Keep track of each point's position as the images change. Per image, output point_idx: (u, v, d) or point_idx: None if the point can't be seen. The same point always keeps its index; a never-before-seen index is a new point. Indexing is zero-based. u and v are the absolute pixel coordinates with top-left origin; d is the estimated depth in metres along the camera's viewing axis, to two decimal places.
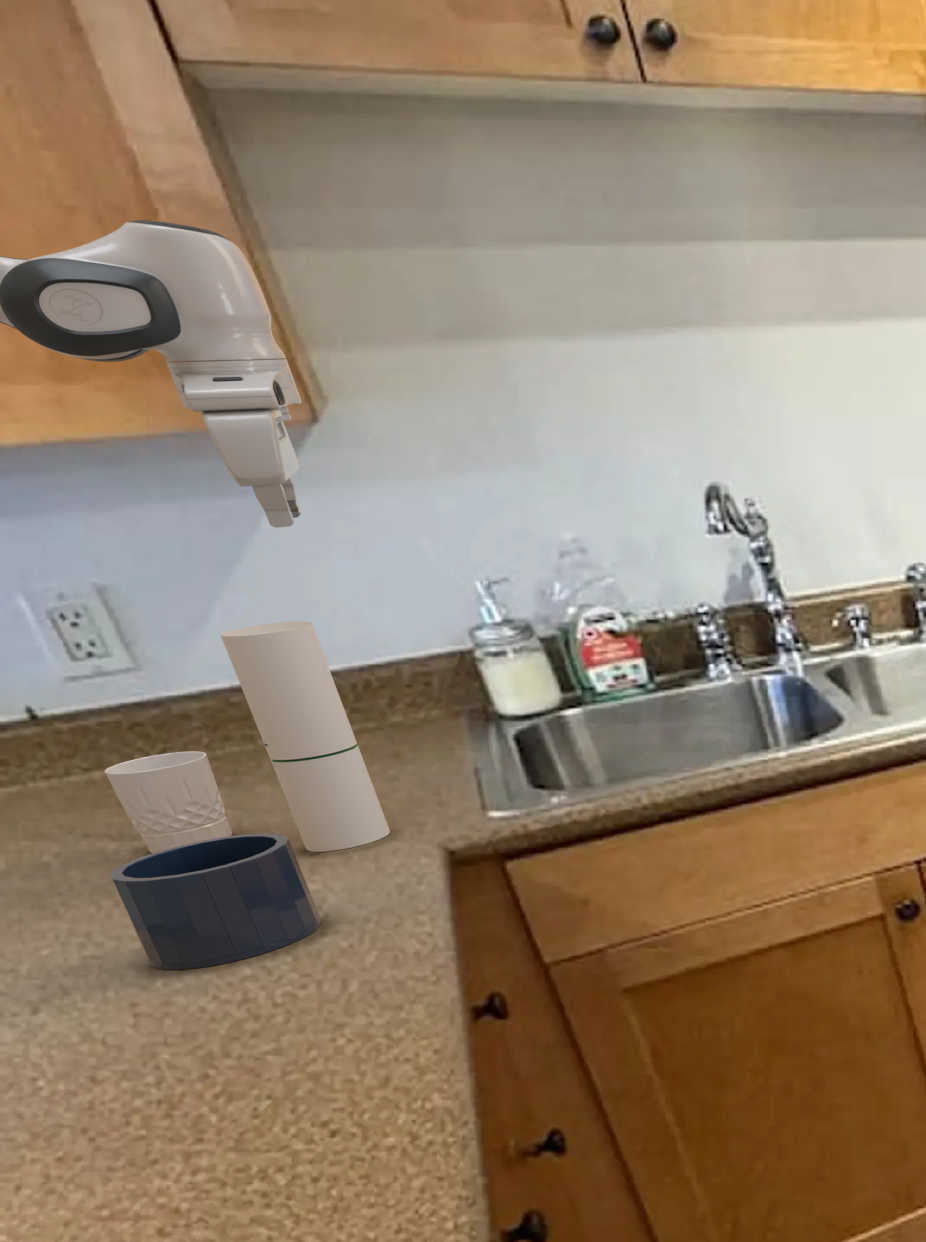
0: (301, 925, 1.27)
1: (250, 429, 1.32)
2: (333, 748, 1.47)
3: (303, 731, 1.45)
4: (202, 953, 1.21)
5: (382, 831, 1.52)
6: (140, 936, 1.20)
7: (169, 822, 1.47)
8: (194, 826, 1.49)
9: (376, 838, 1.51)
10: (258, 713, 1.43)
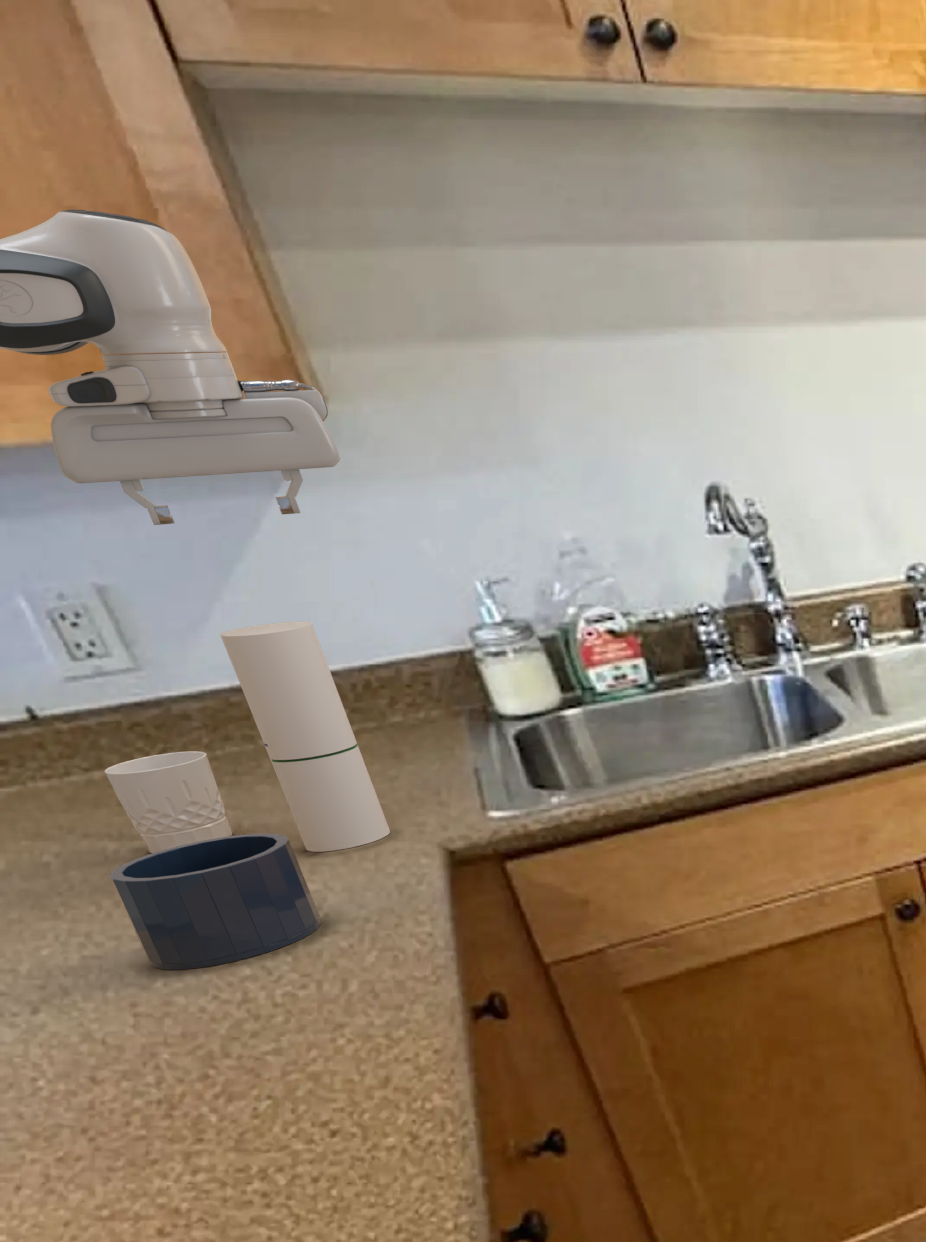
0: (301, 925, 1.27)
1: None
2: (333, 748, 1.47)
3: (303, 731, 1.45)
4: (202, 953, 1.21)
5: (382, 831, 1.52)
6: (140, 936, 1.20)
7: (169, 822, 1.47)
8: (194, 826, 1.49)
9: (376, 838, 1.51)
10: (258, 713, 1.43)
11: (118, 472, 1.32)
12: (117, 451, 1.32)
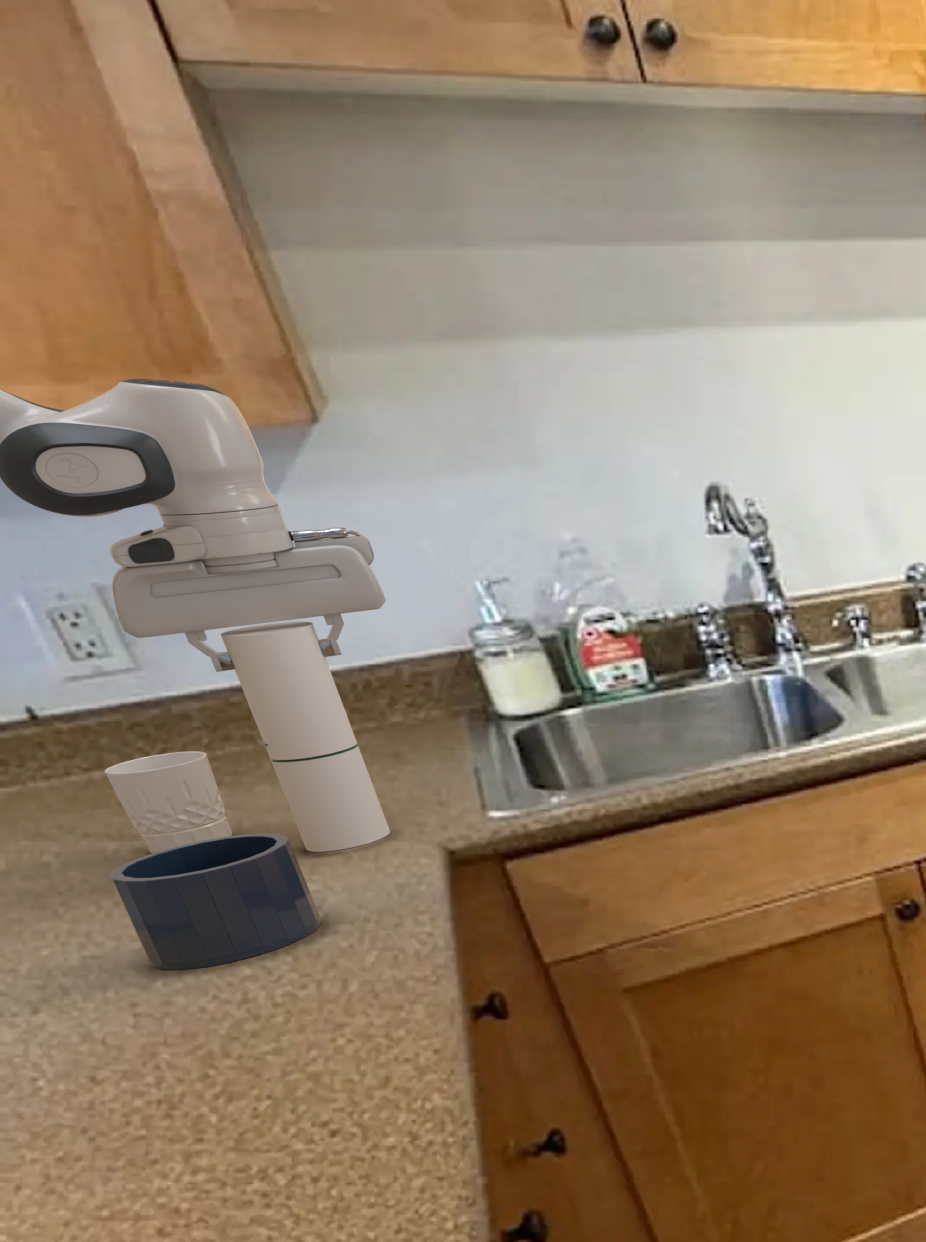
0: (301, 925, 1.27)
1: None
2: (333, 748, 1.47)
3: (303, 731, 1.45)
4: (202, 953, 1.21)
5: (382, 831, 1.52)
6: (140, 936, 1.20)
7: (169, 822, 1.47)
8: (194, 826, 1.49)
9: (376, 838, 1.51)
10: (258, 713, 1.43)
11: (175, 625, 1.37)
12: (175, 606, 1.37)
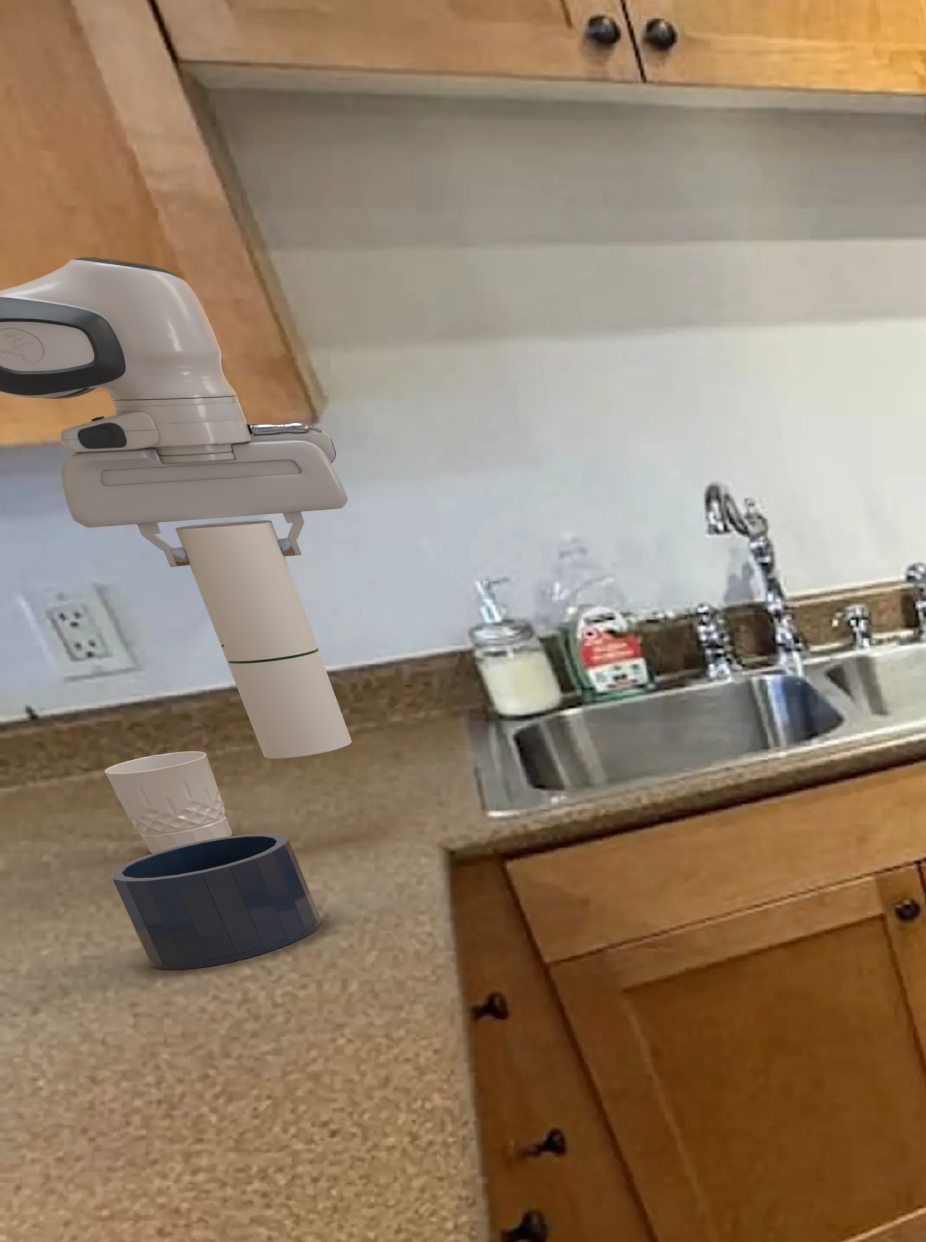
0: (301, 925, 1.27)
1: None
2: (292, 651, 1.42)
3: (261, 632, 1.40)
4: (202, 953, 1.21)
5: (343, 740, 1.48)
6: (140, 936, 1.20)
7: (169, 822, 1.47)
8: (194, 826, 1.49)
9: (337, 747, 1.47)
10: (214, 611, 1.39)
11: (127, 516, 1.33)
12: (126, 496, 1.32)
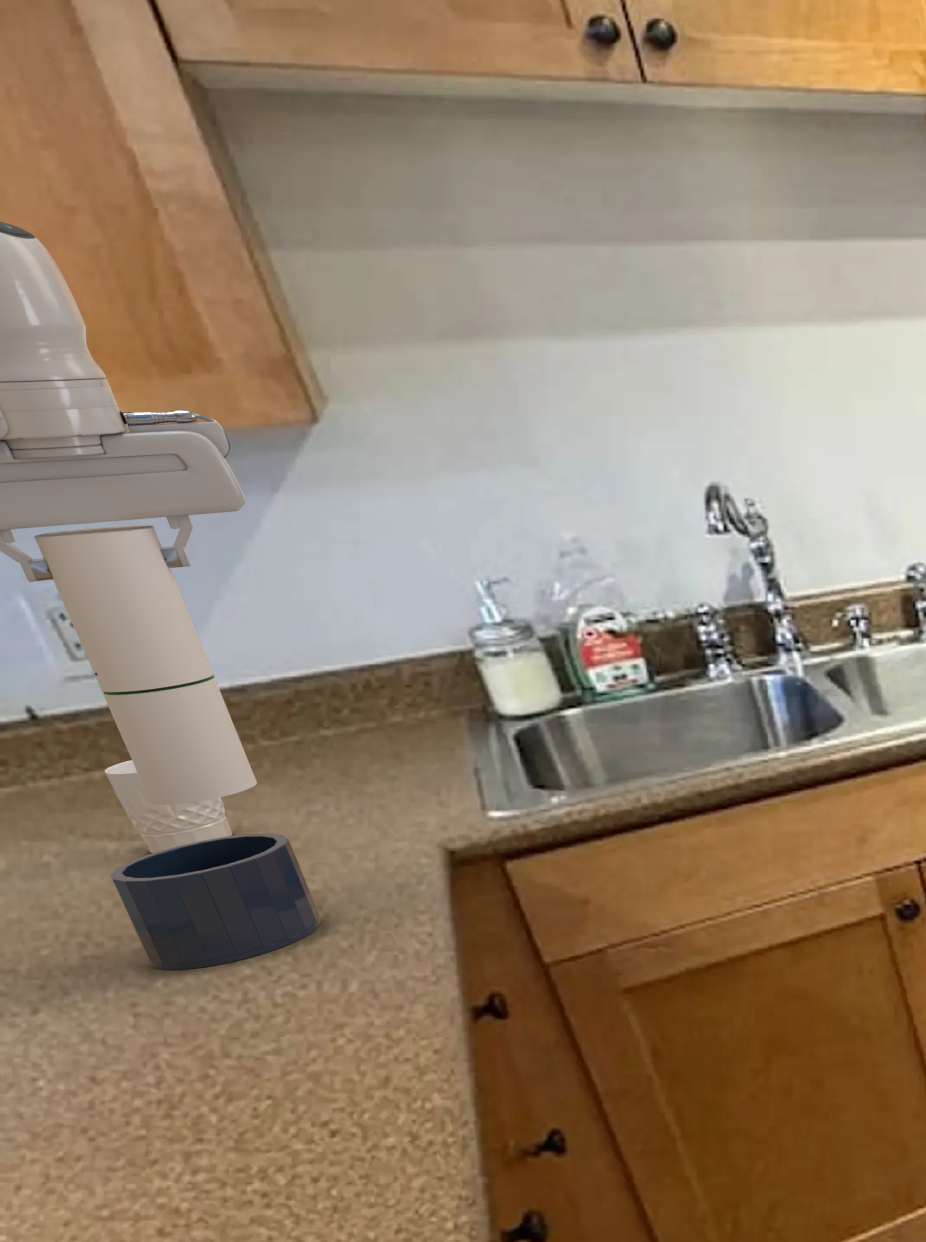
0: (301, 925, 1.27)
1: None
2: (180, 679, 1.21)
3: (141, 657, 1.19)
4: (202, 953, 1.21)
5: (246, 782, 1.26)
6: (140, 936, 1.20)
7: (169, 822, 1.47)
8: (194, 826, 1.49)
9: (238, 790, 1.26)
10: (84, 634, 1.17)
11: None
12: None
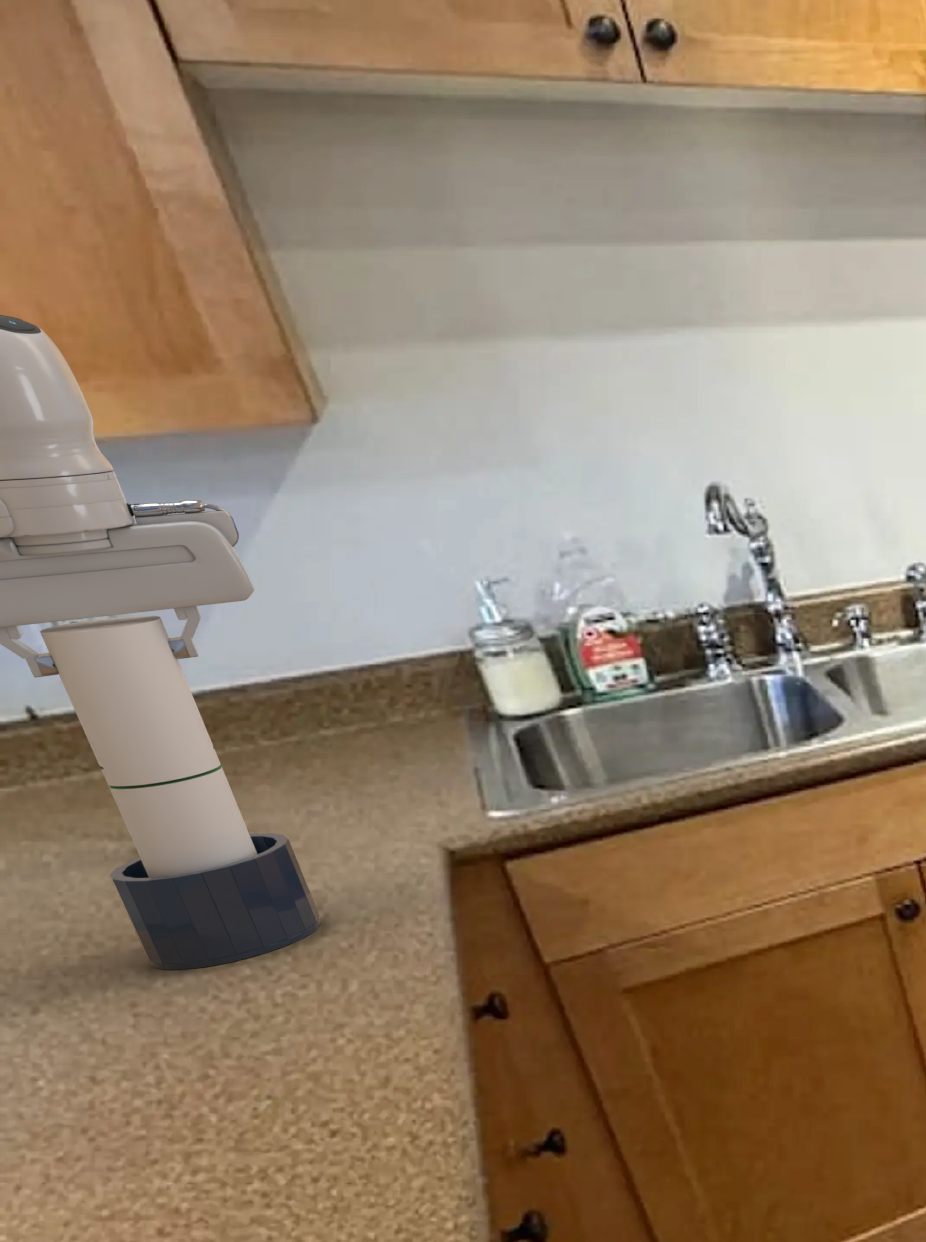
0: (301, 925, 1.27)
1: None
2: (187, 771, 1.19)
3: (147, 751, 1.17)
4: (202, 953, 1.21)
5: None
6: (140, 936, 1.20)
7: None
8: None
9: None
10: (90, 728, 1.16)
11: None
12: None
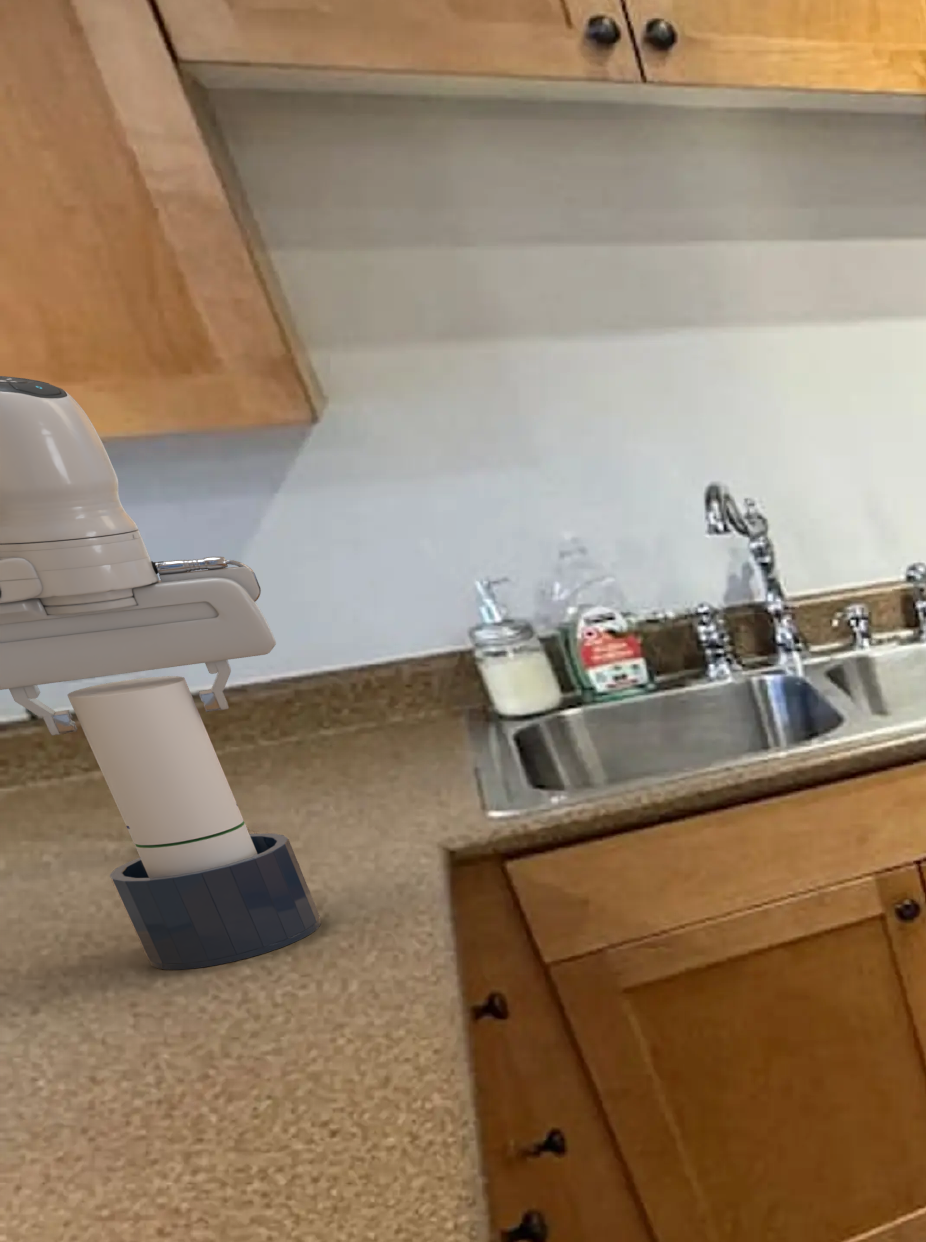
0: (301, 925, 1.27)
1: None
2: (211, 829, 1.21)
3: (172, 811, 1.19)
4: (202, 953, 1.21)
5: None
6: (140, 936, 1.20)
7: None
8: None
9: None
10: (116, 789, 1.17)
11: (6, 679, 1.12)
12: (4, 655, 1.11)
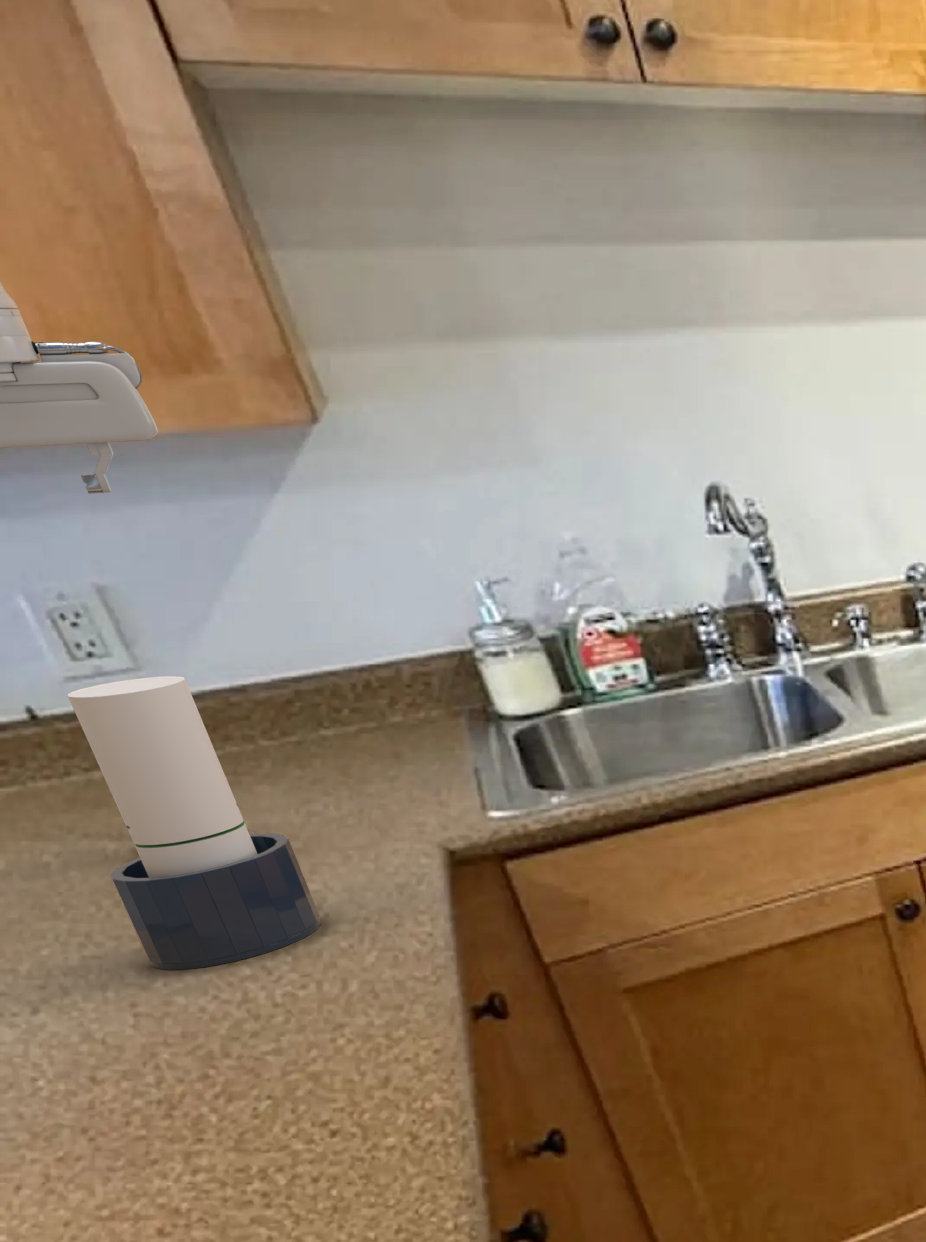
0: (301, 925, 1.27)
1: None
2: (212, 829, 1.21)
3: (172, 811, 1.19)
4: (202, 953, 1.21)
5: None
6: (140, 936, 1.20)
7: None
8: None
9: None
10: (116, 789, 1.17)
11: None
12: None
